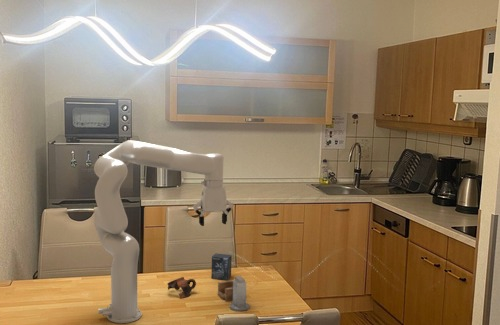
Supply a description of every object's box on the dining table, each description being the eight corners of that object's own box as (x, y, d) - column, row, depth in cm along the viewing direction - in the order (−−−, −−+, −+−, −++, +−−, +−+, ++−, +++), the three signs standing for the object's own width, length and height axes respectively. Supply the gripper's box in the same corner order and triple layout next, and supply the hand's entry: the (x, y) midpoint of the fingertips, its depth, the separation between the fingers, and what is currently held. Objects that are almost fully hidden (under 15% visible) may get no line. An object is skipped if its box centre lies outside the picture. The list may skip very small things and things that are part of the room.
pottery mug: (174, 301, 213) (167, 282, 215) (170, 303, 222) (163, 285, 223) (201, 290, 218) (194, 271, 219) (196, 292, 226) (190, 274, 228)
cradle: (224, 301, 213) (224, 289, 213) (216, 293, 222) (216, 282, 221) (245, 298, 217) (245, 286, 216) (237, 290, 225) (237, 279, 225)
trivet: (234, 312, 203) (234, 310, 203) (226, 304, 210) (226, 302, 210) (252, 309, 206) (253, 307, 206) (244, 302, 213) (245, 300, 213)
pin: (236, 308, 205) (237, 280, 203) (232, 303, 209) (232, 276, 208) (246, 306, 207) (246, 279, 205) (241, 302, 211) (242, 275, 209)
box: (211, 278, 239) (211, 256, 238) (215, 274, 245) (215, 252, 243) (227, 280, 237) (227, 258, 236) (231, 276, 242) (231, 254, 241)
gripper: (196, 186, 207) (195, 228, 209) (236, 184, 214) (235, 225, 216) (190, 183, 214) (190, 223, 216) (230, 181, 221) (229, 220, 223)
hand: (213, 224), depth 216 cm, fingers open, 9 cm apart
